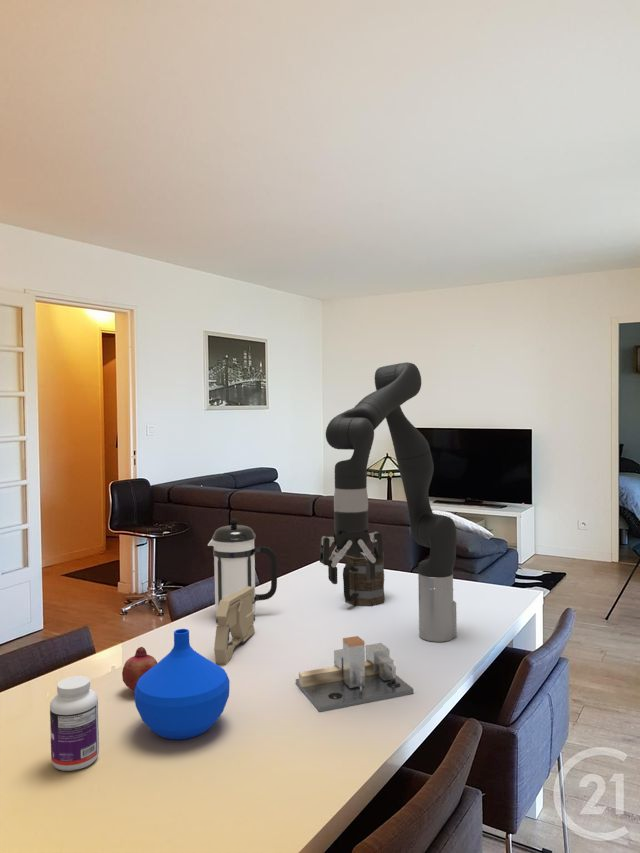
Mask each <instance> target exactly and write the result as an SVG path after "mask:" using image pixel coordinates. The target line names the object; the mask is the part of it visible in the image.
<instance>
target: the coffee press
mask: <svg viewBox="0 0 640 853" xmlns="http://www.w3.org/2000/svg"><path fill="white" fill-rule="evenodd" d="M238 522H239V521H238V519H237V518H235V517H232V518H231V519H230V521H229V523H230V525H225V526H221V527H218V528H217V529H216V530H215V531H214V533H213V535H212V538H211V540H209V542H208V543H207V546H208V547H213V548H212V550H213V551H212V552H213V553H212V555H213V558H214V559H213V566H214V568H213V570H214V609H215V614H216V613H217V609H218V606H219V602H220V600H222V599H224V598H226V597H227V596H229V595H231V594H234V593H236V592H237V591H239V590H241V589H242V588H244V587H246V586H249V587H254V602H252V611H253V612H255V610H256V602H258V601H266V600H269V599H271V598H272V597H273V596H274V595H275V594H276V592H277V588H278V569H277V567H278V566H277V558H276V554H275V552H274V551H273V550H272V549H271V548H270V547H267V546H256V545H255V539H256V537H257V536H256V533H255V532H254V530H253V529H252V527H250V526H247V525H242V524H238ZM256 553H261V554H266V555H267V556H268V557H269V559H270V576H271V577H270V580H271V582H270V589H269V590H268V592H266V593H260V594H259V593H257V594H256V571H255V570H256V569H255V568H256V563H255V559H256V557H255V555H256ZM255 621H256V617H255V616H254V622H255ZM217 622H218V619H216V618H215V624H217Z"/></svg>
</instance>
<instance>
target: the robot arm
mask: <svg viewBox="0 0 640 853" xmlns="http://www.w3.org/2000/svg"><path fill="white" fill-rule="evenodd" d="M374 386H375V390H374V391H372V392H371V393H369V394H368V395H365V396H364V397H363V398H362V399H361V400H360V401H359V402H358V403H357V404H356V405H355V406H354V407H352V408H350V409H347V410H345V411H344V412H341V413H339V414H338V415H336V416H334V417H333V418H332V419H331V420H330V421H329V422H328V424H327V427H326V430H325V439H326V440H325V441H326V442H327V444H328V445H329V446H330V447H331V448H333V449H334V450H344V451H345V450H352V451H353V453H352V455H351V458H349V459H345V460H340V461H337V463H335V464H334V493H333V522H334V523H333V526H334V527H333V528H334V532H333V533H334V534H333V536H325V535H321V537H320V542H319V544H320V545H319V563H321V564H322V565H323V566H327V567H328V568H327V569H328V578H327V579H328V581H329V582H330V583H332V584H333V585H337V584H338V566H337V565H338V564H339V563H340V560H342V559H343V558H344V555H351V554H360V553H362V554H363V556H364V557H365V558H366V559H367V562H366V578H367V579H369V580H373V577H374V576H375V562H376V561H377V560H379V559H382V558H383V553H384V550H383V536H382V535H383V534H382V533H380V532H378V531H376V530H374V531H373V532H371V533H369V497H368V490H367V488H368V487H367V483H368V482H367V479H368V478H367V477H368V476H367V468H368V463H369V458H370V454H371V450H372V447H373V443H374V438H375V430H376V429H377V428H378V427H379V426H380V425H381V424H382V422H384V420H386V423H387V427H388V429H389V434H390V437H391V442H392V446H393V450H394V453H395V459H396V463H397V468H398V471H399V473H400V478H401V481H402V485H403V489H404V490H403V491H404V495H405V498H406V504H407V512H408V519H409V525H410V526H409V527H410V531H411V534H412V537H413V539H414V542H415V543H417V544H418V545H420V546H422V547H424V548H429V557H428V559H423V560H421V561H420V562H419V563H418V572H417V573H418V575H417V576H418V635H419V637H420V638H421V639H423V640H425V641H428V642H434V643H435V642H436V643H437V642H438V643H441V642H448V641H451V640H453V639H454V638H457V635H458V634H457V633H458V632H457V628H458V627H457V621H458V620H457V602H456V601H455V600H454V567H455V563H456V561H457V560H456V559H457V558H456V557H457V539H458V538H457V534H458V533H457V526H456V524H455V521H454V520H453V518H451V517H450V516H448V515H447V516H446V515H442V514H436V513H433V510H432V507H431V502H430V499H429V490H430V485H431V482H432V479H433V476H434V468H435V467H434V465H435V464H434V461H433V457H432V451H431V447H430V444H429V442H428V440H427V439H426V438H425V436H424V435H423V434H422V433H421V431H419V430H418V428H417V427H416V426H414V425H413V423H412V422H411V421H410V420H409V418H408V417H406V415H405V414H404V412H403V409H402V407H401V406H402V405H403V404H404V403H406V402H407V401H409V400H411V399H413V398H414V397H416V396H417V395H418V394H419V392H420V391H421V388H422V376H421V372H420V369H419V368H418V367H417V365H416V364H415V363H412V362H407V361H405V362H400V363H399V362H398V363H394V364H390V365H384V366H381V367H378V368H377V369H376V371H375V373H374ZM369 541H371V542H372V550H373V554H371V551H370V550H371V549H370V548H368V546H367V544H368V542H369ZM332 544H334V545H335V547H334V549H333V551H332V552H331V555H330V547H332Z"/></svg>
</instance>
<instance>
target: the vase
mask: <svg viewBox="0 0 640 853" xmlns="http://www.w3.org/2000/svg"><path fill="white" fill-rule="evenodd" d="M133 691H134V690H133ZM229 696H230V679H229V676H228V673H227V672H226V670H225V669H224V668H223V667H221V666H220V665H219V664H216V662H214V661H212V660H209V659H208V658H206V657H205V656H203V655H202V654H200V653H199V652H197V651H196V650H195V649H194V648H192V646H191V644H190V630H189V629H188V628H179V629H176V630H174V631H173V646H172V649H171V650H170V651H169V653H167V654H166V655H165V656H164V657H162V659H161V660H159V661H157V664H156V665H155V666H153V667H152V668H151V669H150V670H148V671H147V672H146V673H144V674H143V675H142V676H141V677H140V678H139V680H138V682H137V685H136V688H135V691H134V703H135V709H136V710H137V712H138V714H139V717H140V718H141V720H142V722H143V723H144V724H145V725H146V726H147V727H148V728H149V729H150V731H152V732H153V733H155V734H157V735H159V736H160V737H162V738H165V739H169V740H176V741H177V740H187V739H192V738H195V737H198V736H201V735H202V734H204V733H205V732H206V731H208V730H209V729H210V728H211V727H212V726H214V725H215V724H216V722H217V720H218V719H220V717H221V715H222V714H223V712H224V710H225V707H226V704H227V702H228V700H229Z"/></svg>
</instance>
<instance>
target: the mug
mask: <svg viewBox="0 0 640 853" xmlns="http://www.w3.org/2000/svg"><path fill="white" fill-rule="evenodd" d="M369 550H370V551H371V554H373V549H369ZM384 557H385V552H383V558H382V559H379V560H377V561H376V562H375V576H374V577H373V580H369V579H367V578H366V562H367V559H366V558H365V557H364V556H363V554H362V553H360V554H351V555H344V556H343V558H344V567H343V570H342V581H343V583H342V584H343V597H344V602H345V603H346V604H349V605H351V606H354V607H376V606H379V605H382V604H383V605H384V604H385V601H386V597H385V570H384V566H385V565H384V559H385V558H384Z"/></svg>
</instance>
